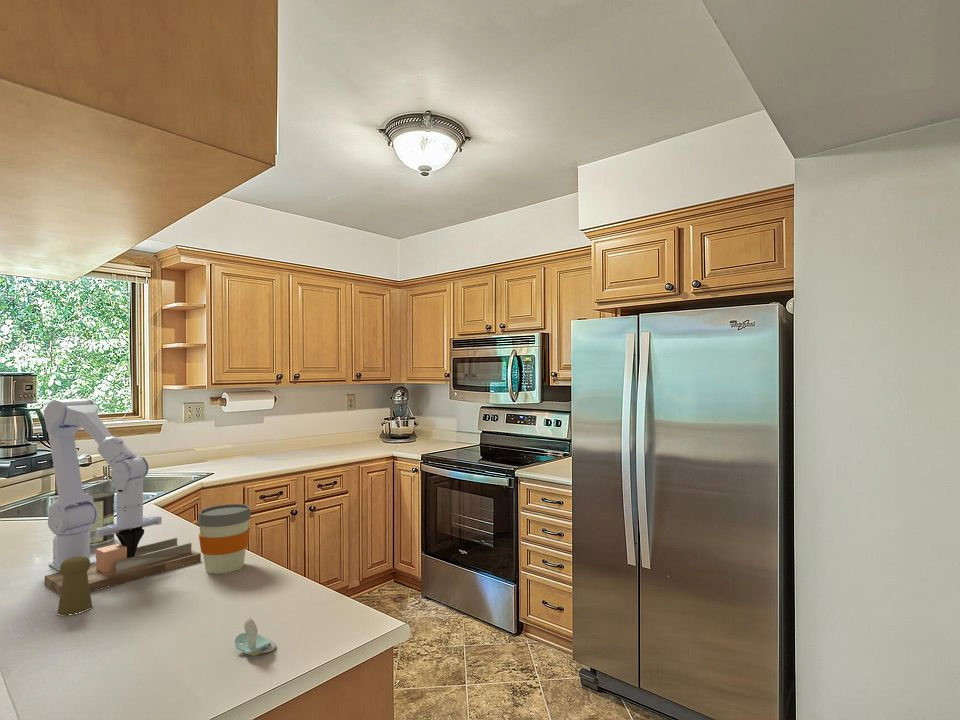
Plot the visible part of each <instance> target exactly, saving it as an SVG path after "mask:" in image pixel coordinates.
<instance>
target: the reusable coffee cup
mask: <svg viewBox="0 0 960 720" xmlns="http://www.w3.org/2000/svg"><path fill="white" fill-rule="evenodd" d="M251 515H252V514H251V507H250V505H249V504H243V503H230V504H221V505H214V506H208V507H206V508H203V509H200V510H199V512H198V518H197V524H198V526H199V533H198V539H199V540H198V541H199V547H200V553H201V554H203V563H204V568H205V572H206V573H207V572H208V573H207V574H210V573H215V574H214V575H220V574H219V573H223V574H228V573H227V572H229V573H232V572H231V571H233V572H235V570H236V571H238V570H240V569H242V568H243V567H244V566H243V565H245V557H246V550H247V547H248V545H249V537H250V531H251V527H249V526H250V519H251V518H252V516H251Z"/></svg>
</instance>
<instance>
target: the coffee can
mask: <svg viewBox="0 0 960 720" xmlns="http://www.w3.org/2000/svg"><path fill="white" fill-rule="evenodd" d="M87 494H88V495H90V496H92V497H93V501H94V504H95V506H96V507H97V509H98V518H97V521H96V522H95V523H94V524H93V528H90V547H95V546H100V545H101V546H102V545H104V544H108V543H110V542H113V541H114V540H115V533H114V534H110V535H105V536H103V537H96V528H101V527H104V526H108V525H111V524H115V492H113V491H99V492H97V491H96V492H90V493H87ZM76 505H78V504H73V506H76Z"/></svg>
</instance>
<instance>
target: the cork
mask: <svg viewBox="0 0 960 720" xmlns="http://www.w3.org/2000/svg"><path fill="white" fill-rule="evenodd" d="M90 565H91V564H90V560H89V559H88V558H87V557H83V556H80V557H73V558H69V559H67V560H65V561H64V562H62V564H61V567H60V571H59V572H61V574H62V575H63V582H62V588H61V594H59V595H60V596H59V602H58V608H57V613H58V614H60V615H69V614H75V613H79V612H82V611H85V610H87V609H89V608H91V607H92V608H93V602H92V596H91V592H90V588H89V582H88V575H87V571H88V570H89V567H90ZM92 608H91V609H92ZM89 610H90V609H89ZM85 612H86V611H85ZM58 614H57V615H58Z"/></svg>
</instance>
